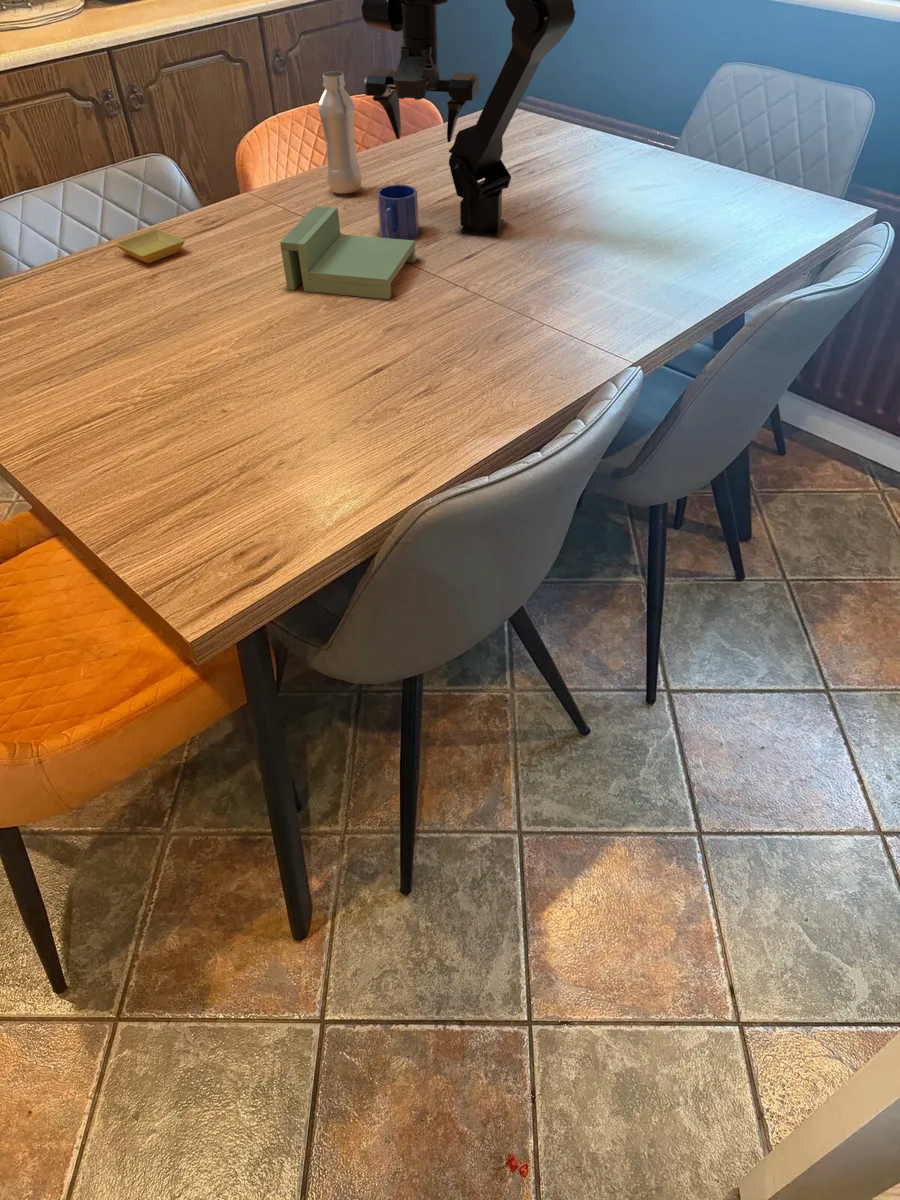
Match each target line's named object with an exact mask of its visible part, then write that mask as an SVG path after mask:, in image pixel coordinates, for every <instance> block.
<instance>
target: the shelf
mask: <svg viewBox="0 0 900 1200" xmlns="http://www.w3.org/2000/svg"><path fill="white" fill-rule="evenodd" d="M340 227H341V226H340V218H339V208H338V207H337V206H336V207H335V206H321V205H314V206H313V207H312V208H311V209H310V210H309V211H308V212H307V214H305V216H303V218H302V219H301V220H300V221H299V222H298V223H297V224H296V225H295V226H294V227H293V228H292V229H291V230H290V231H289V232H288V233H287V234H286V235H285V236H284V237H283V238H282V239H281V240H280V242H279V244H280V252H281V257H282V263H283V271H284V276H285V282H286V289H287V290H292V291H295V290H296V289H297V287H298V286H299V285H300V284H301V283H302V287H303V291H304V292H312V293H323V294H332V295H340V296H341V295H342V296H351V297H361V298H370V299H371V298H373V299H380V300H390V299H391V297H392V287H391V284H392V282H393V281H394V280H395V278H396V276H397V275H398V274H399V272H400V270H401V269H402V268H403V266H404V264H405V263H415V262H416V259H417V258H416V257H417V255H416V241H415V240H414V239H409V240H402V239H391V238H382V237H379V236H367V235H354V234H343V233H341V228H340Z"/></svg>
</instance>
